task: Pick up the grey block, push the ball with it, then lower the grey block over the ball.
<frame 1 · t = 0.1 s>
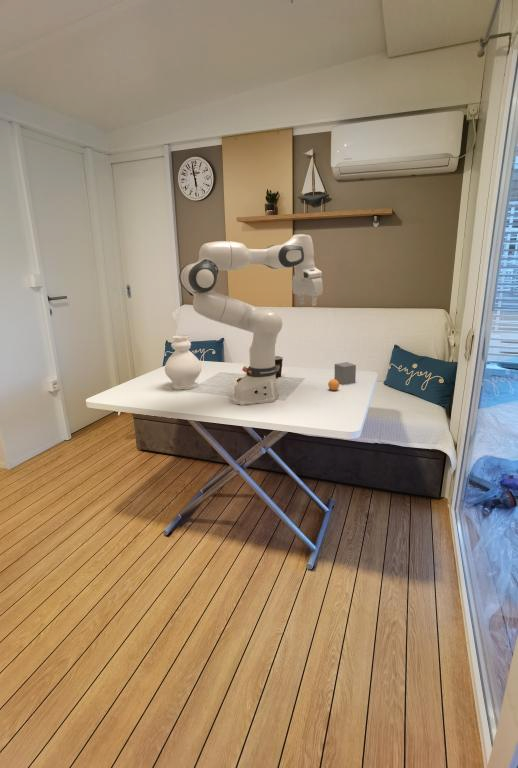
hand: (308, 304, 182), 39 cm above the table, tool pointing down, fingers open, 8 cm apart
coffee mug: (272, 376, 215), on the table
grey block: (344, 381, 201), on the table
ball: (333, 384, 188), on the table
decorative vase: (184, 386, 204), on the table
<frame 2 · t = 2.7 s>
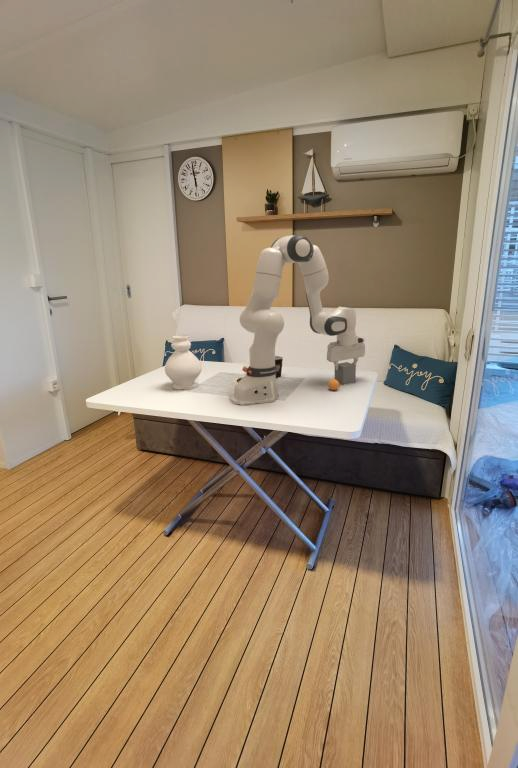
hand: (345, 368, 199), 7 cm above the table, tool pointing down, fingers open, 8 cm apart
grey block: (344, 381, 201), on the table, touching gripper
everything else where it was.
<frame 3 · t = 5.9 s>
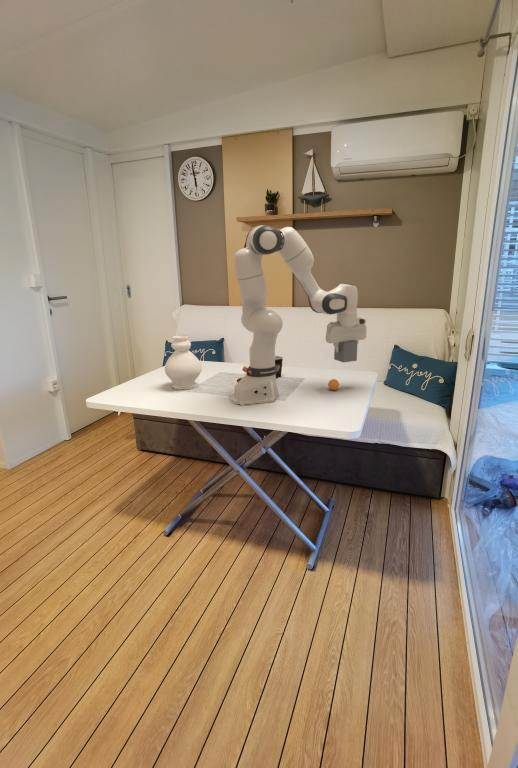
hand: (345, 351, 186), 18 cm above the table, tool pointing down, fingers closed on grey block, 7 cm apart
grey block: (345, 360, 187), point 13 cm above the table, touching gripper
everything else where it was.
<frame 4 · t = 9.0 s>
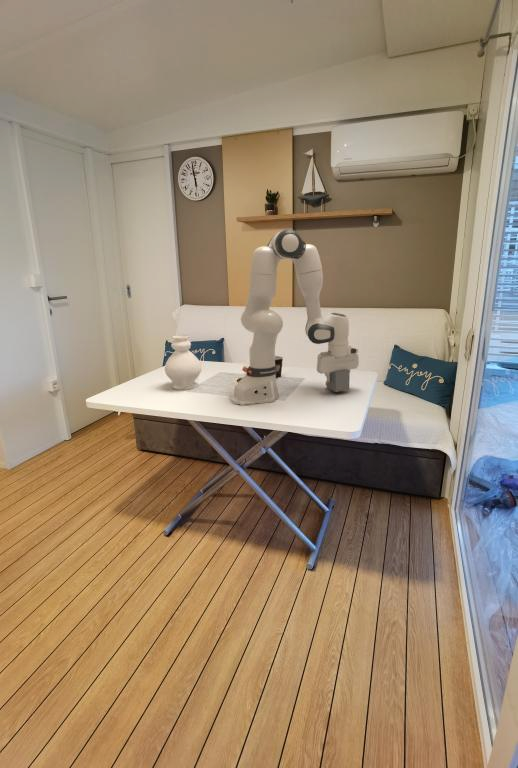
hand: (337, 380, 184), 5 cm above the table, tool pointing down, fingers closed on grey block, 7 cm apart
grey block: (337, 388, 185), point 2 cm above the table, touching gripper
ball: (331, 383, 190), on the table
everything else where it was.
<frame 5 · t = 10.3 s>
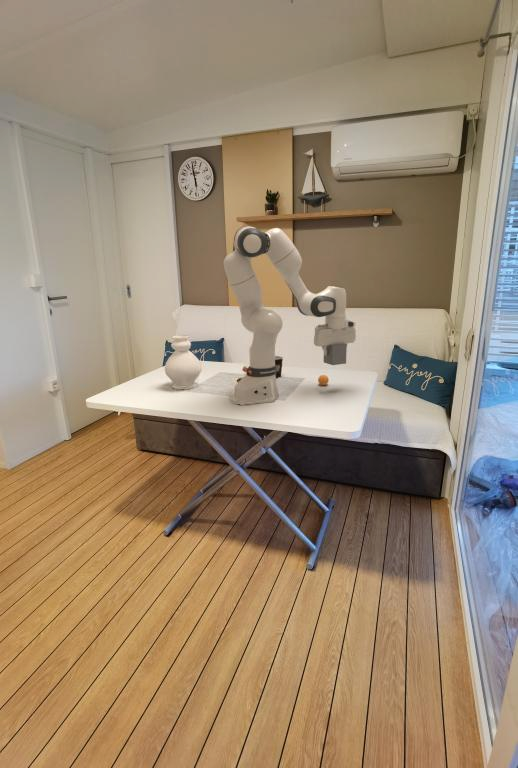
hand: (334, 354, 184), 17 cm above the table, tool pointing down, fingers closed on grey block, 7 cm apart
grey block: (334, 362, 184), point 13 cm above the table, touching gripper
ball: (323, 380, 196), on the table
everything else where it was.
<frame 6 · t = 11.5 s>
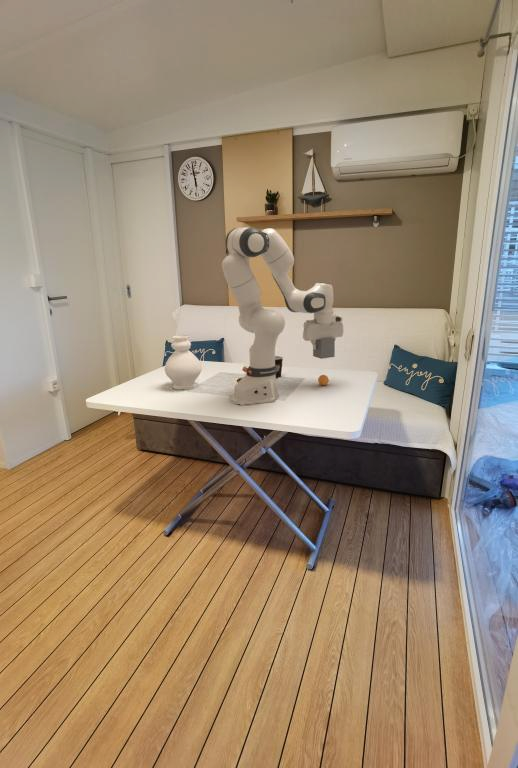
hand: (323, 348, 192), 18 cm above the table, tool pointing down, fingers closed on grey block, 7 cm apart
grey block: (323, 356, 192), point 14 cm above the table, touching gripper
everything else where it was.
when the fingers open (5 cm above the table, at t = 15.5 s): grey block stays where it is, on the table.
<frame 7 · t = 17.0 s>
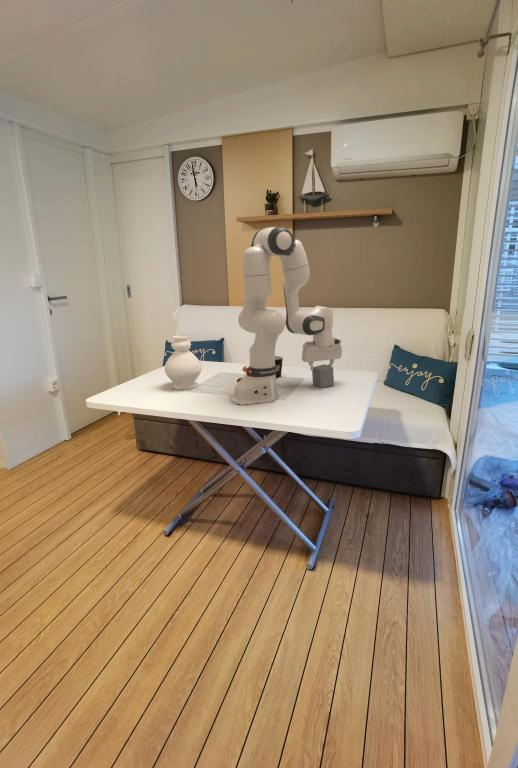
hand: (321, 369, 194), 8 cm above the table, tool pointing down, fingers open, 8 cm apart
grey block: (323, 384, 196), on the table
everything else where it was.
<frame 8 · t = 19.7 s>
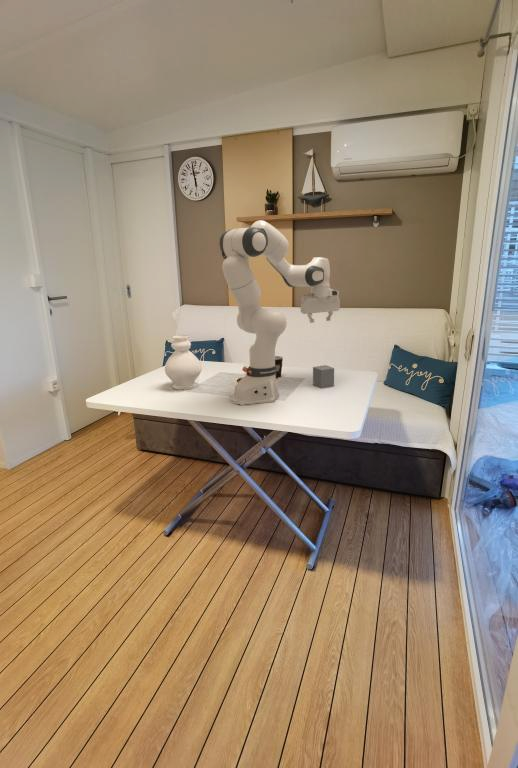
hand: (320, 321, 198), 29 cm above the table, tool pointing down, fingers open, 8 cm apart
nothing on the table moved.
at the end: ball 0.5 cm from the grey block (horizontally); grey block on the table; ball moved 9.0 cm from its start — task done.
